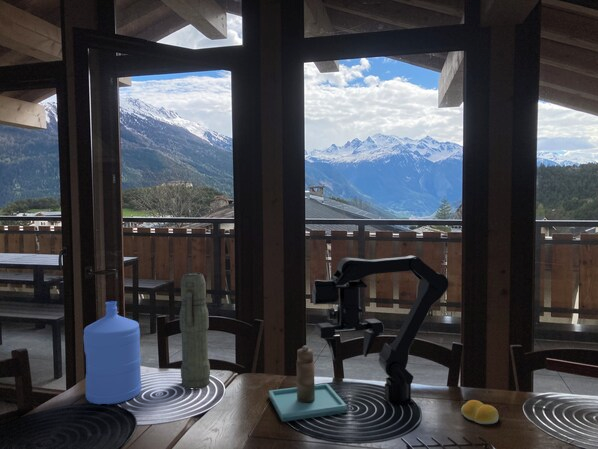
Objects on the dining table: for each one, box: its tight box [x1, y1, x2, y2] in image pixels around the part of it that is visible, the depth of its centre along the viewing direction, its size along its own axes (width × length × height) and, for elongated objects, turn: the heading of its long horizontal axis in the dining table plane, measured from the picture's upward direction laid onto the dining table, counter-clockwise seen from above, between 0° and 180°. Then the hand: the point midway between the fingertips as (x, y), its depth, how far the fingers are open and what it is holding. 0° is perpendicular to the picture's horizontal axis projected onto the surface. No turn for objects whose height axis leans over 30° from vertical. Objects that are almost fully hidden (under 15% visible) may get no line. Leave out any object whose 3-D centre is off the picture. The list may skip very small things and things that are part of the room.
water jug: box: [83, 300, 142, 405], centre depth 141 cm, size 16×16×28 cm
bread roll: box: [460, 399, 500, 425], centre depth 125 cm, size 8×9×4 cm
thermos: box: [179, 272, 211, 390], centre depth 149 cm, size 9×12×35 cm
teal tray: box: [268, 383, 348, 423], centre depth 133 cm, size 18×16×2 cm
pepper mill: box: [296, 345, 316, 403], centre depth 134 cm, size 5×5×15 cm
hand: (349, 358), depth 133 cm, fingers open, 9 cm apart
